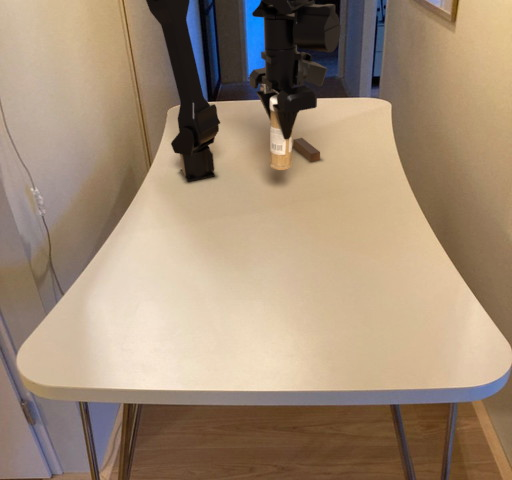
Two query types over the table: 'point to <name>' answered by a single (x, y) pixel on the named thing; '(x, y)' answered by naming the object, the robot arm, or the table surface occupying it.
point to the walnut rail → (306, 149)
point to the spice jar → (278, 142)
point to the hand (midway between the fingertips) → (282, 134)
